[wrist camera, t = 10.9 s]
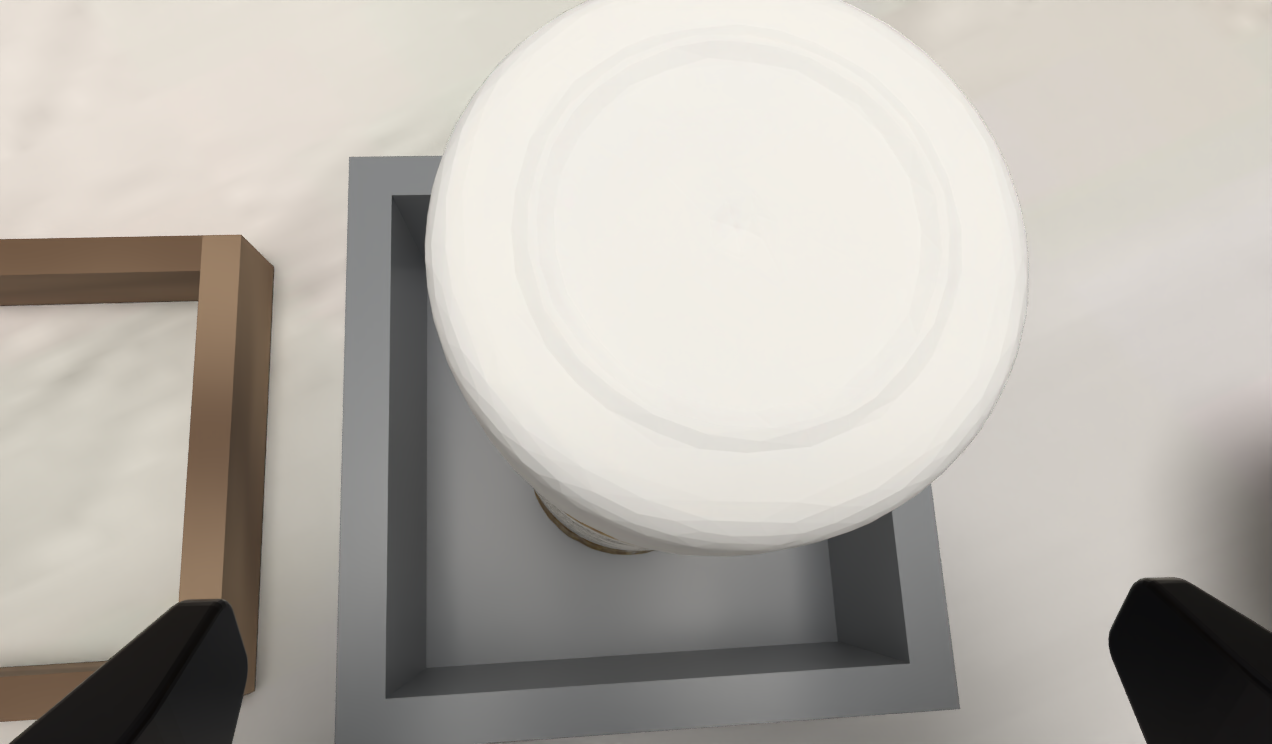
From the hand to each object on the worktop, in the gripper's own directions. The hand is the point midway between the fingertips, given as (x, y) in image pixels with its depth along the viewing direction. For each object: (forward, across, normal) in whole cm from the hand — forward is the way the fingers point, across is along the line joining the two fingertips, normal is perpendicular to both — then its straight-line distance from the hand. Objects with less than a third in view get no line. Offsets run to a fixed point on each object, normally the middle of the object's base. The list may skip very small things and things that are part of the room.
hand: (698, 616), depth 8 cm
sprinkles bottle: (+10, 0, +5) cm, 11 cm away
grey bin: (+10, 0, +5) cm, 11 cm away
